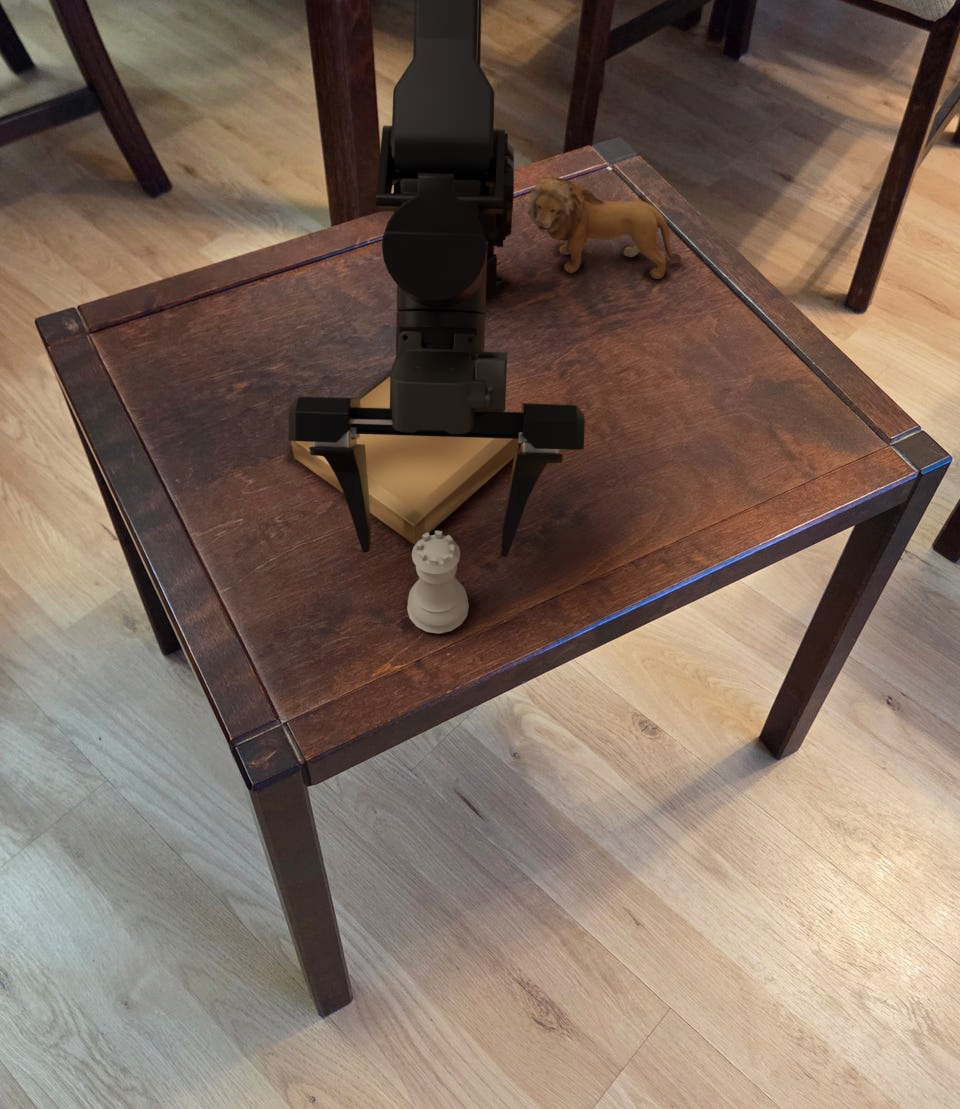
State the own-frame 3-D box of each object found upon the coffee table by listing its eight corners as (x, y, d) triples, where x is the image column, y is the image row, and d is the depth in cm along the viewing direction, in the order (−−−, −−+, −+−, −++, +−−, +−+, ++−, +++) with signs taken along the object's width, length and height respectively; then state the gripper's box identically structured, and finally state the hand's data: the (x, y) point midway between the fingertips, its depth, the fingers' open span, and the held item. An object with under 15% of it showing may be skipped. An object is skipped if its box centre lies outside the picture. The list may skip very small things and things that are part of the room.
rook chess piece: (477, 595, 77) (478, 529, 71) (456, 644, 75) (455, 581, 68) (420, 578, 78) (416, 511, 72) (398, 626, 76) (391, 562, 69)
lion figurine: (526, 283, 98) (531, 199, 90) (523, 246, 101) (527, 163, 93) (684, 280, 98) (701, 197, 91) (675, 244, 101) (692, 161, 94)
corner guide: (291, 456, 85) (287, 435, 83) (406, 366, 91) (405, 345, 89) (415, 545, 80) (414, 525, 78) (528, 444, 86) (530, 423, 84)
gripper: (269, 299, 60) (270, 570, 62) (598, 309, 60) (585, 580, 62) (304, 313, 71) (303, 542, 73) (582, 321, 71) (572, 551, 73)
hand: (435, 553), depth 70 cm, fingers open, 9 cm apart
